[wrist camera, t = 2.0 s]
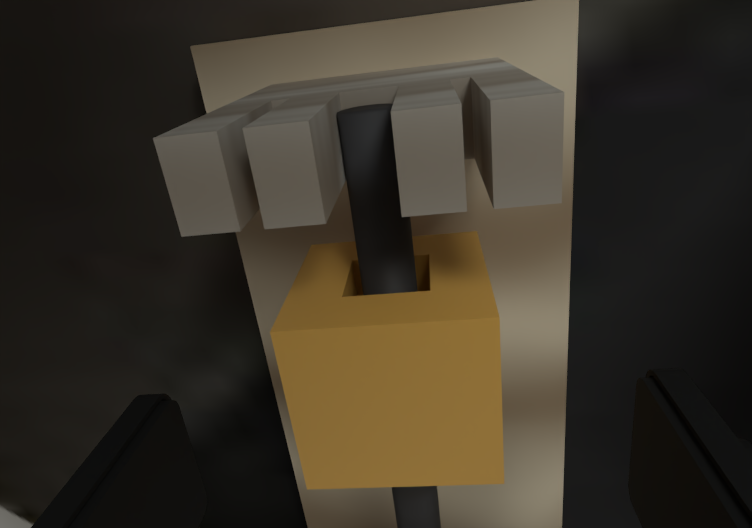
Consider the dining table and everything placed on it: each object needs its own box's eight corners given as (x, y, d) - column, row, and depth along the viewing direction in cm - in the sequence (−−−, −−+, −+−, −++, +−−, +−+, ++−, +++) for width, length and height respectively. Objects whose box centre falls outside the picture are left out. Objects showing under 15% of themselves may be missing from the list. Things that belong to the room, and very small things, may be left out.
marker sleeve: (311, 244, 14) (270, 331, 10) (476, 231, 13) (499, 317, 9) (335, 372, 15) (307, 489, 12) (482, 364, 15) (504, 484, 11)
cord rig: (210, 43, 16) (-1, 70, 8) (564, -4, 14) (733, -28, 7) (331, 573, 25) (291, 824, 17) (551, 570, 24) (615, 839, 16)
